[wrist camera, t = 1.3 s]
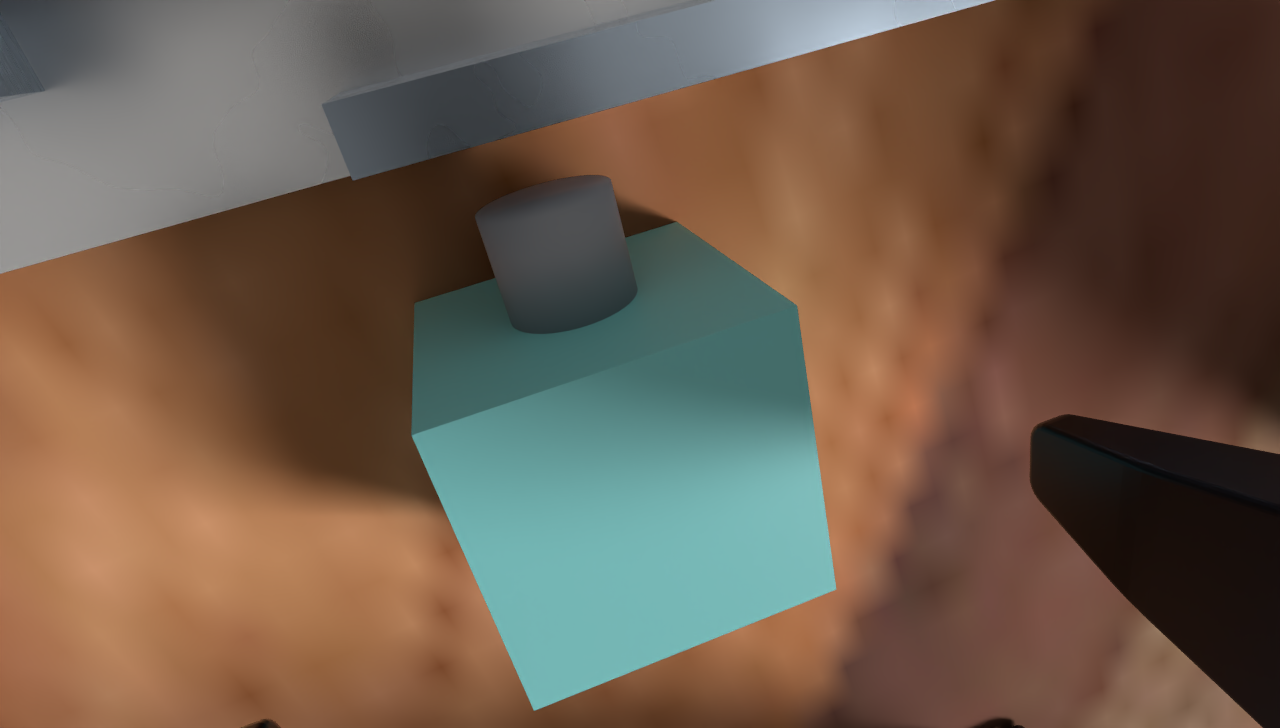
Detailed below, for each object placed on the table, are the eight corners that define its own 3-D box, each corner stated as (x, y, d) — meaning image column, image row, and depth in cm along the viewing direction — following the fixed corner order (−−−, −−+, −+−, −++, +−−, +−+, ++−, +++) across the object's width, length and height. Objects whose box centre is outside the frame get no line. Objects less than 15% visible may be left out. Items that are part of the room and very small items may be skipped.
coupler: (656, 131, 12) (779, 177, 8) (733, 497, 15) (846, 661, 11) (378, 211, 11) (354, 307, 7) (524, 575, 14) (564, 778, 10)
